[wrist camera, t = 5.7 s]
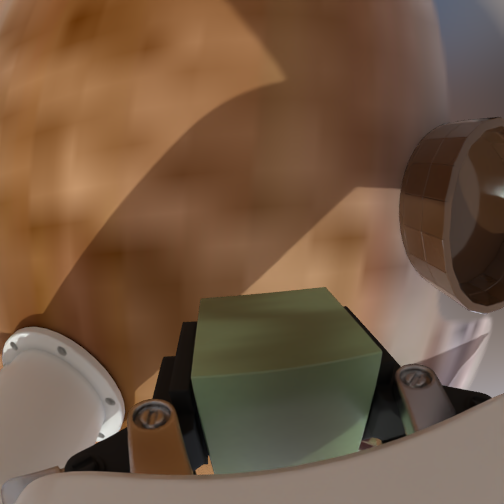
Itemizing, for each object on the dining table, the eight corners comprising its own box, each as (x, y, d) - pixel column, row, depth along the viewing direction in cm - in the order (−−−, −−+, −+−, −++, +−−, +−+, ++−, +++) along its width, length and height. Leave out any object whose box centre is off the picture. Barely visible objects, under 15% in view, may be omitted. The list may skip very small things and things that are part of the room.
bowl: (391, 297, 20) (427, 330, 15) (396, 110, 17) (440, 98, 12) (499, 277, 21) (534, 297, 16) (508, 136, 17) (548, 137, 13)
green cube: (214, 394, 12) (216, 481, 7) (200, 297, 10) (189, 377, 6) (319, 382, 12) (355, 459, 8) (325, 286, 11) (383, 351, 6)
